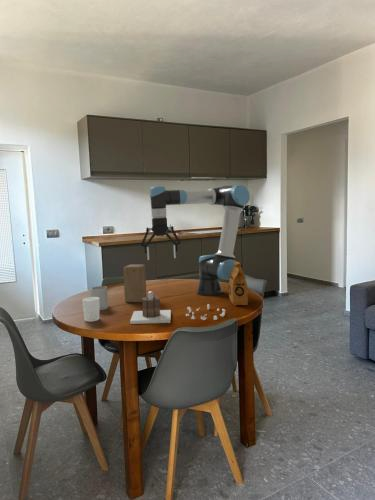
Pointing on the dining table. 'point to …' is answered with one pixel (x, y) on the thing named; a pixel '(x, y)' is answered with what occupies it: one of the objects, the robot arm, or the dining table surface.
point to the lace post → (150, 295)
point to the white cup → (91, 308)
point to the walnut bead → (151, 307)
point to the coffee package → (238, 286)
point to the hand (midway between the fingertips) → (161, 258)
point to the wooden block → (134, 282)
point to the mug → (100, 296)
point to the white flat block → (163, 318)
